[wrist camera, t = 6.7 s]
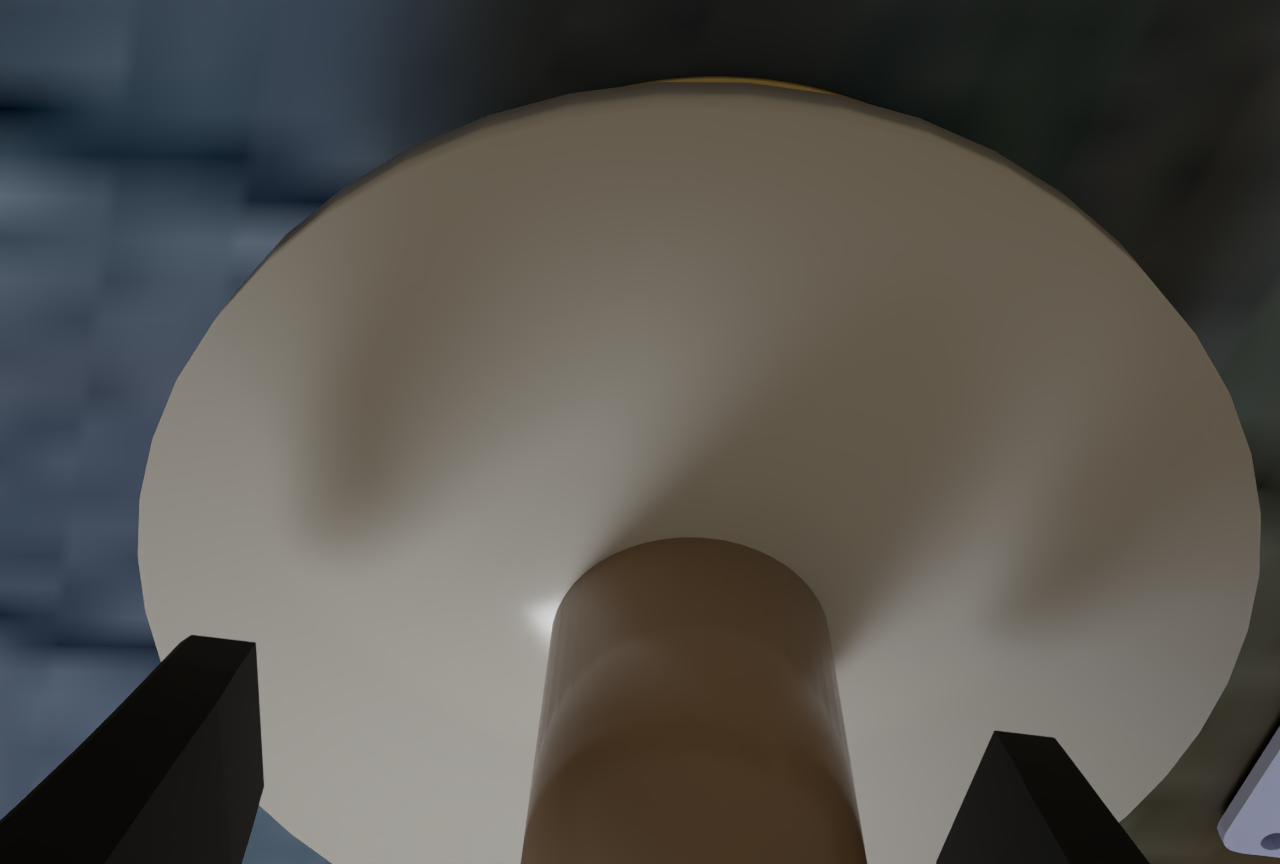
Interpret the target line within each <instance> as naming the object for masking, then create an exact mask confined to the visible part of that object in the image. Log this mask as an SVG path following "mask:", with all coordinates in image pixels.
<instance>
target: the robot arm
mask: <svg viewBox="0 0 1280 864" xmlns="http://www.w3.org/2000/svg"><path fill="white" fill-rule="evenodd" d="M263 789H264V775H263V758H262V740H261V723H260V705H259V688H258V670H257V653H256V642H248V641H240V640H231V639H223V638H215V637H206V636H198V635H190V636H189V637H187V638H186V639H184V640H183V641H181V642H180V643H179V644H178V645H177V646H176V647H175V648H174V649H173V650H172V651H171V652H170V653H169V655H168V656H167V657H166V658H165V659H164V660H163V661H162V662H161V663H160V664H159V665H158V666H157V667H156V668H155V669H154V670H153V671H152V672H151V674H150V675H149V676H148V677H147V678H146V679H145V680H144V681H143V682H142V683H141V684H140V685H139V686H138V687H137V688H136V689H135V690H134V691H133V692H132V693H131V694H130V695H129V696H128V698H127V699H126V700H125V701H124V702H123V703H122V704H121V705H120V706H119V707H118V708H117V709H116V710H115V711H114V712H113V713H112V714H111V715H110V716H109V717H108V718H107V719H106V720H105V721H104V722H103V723H102V724H101V725H100V726H99V727H98V728H97V729H96V730H95V731H94V732H93V733H92V734H91V735H90V736H89V737H88V738H87V739H86V740H85V741H84V742H83V743H82V744H81V745H80V746H79V747H78V748H77V749H76V750H75V751H74V752H73V753H71V754H70V755H69V756H68V757H67V758H66V759H65V760H64V761H63V762H62V763H61V764H60V765H59V766H58V767H57V768H56V769H55V770H54V771H53V772H51V773H50V774H49V775H48V776H47V777H46V778H45V779H44V780H43V781H42V782H41V783H40V784H39V785H38V786H37V787H36V788H35V789H34V790H33V791H31V792H30V793H29V794H28V795H27V796H26V797H25V798H24V799H23V800H22V801H21V802H20V803H19V804H18V805H17V806H16V807H15V808H13V809H12V810H11V811H10V812H9V813H8V814H7V815H6V816H5V817H4V818H3V819H1V820H0V864H242V860H243V857H244V854H245V851H246V847H247V844H248V841H249V837H250V834H251V830H252V827H253V823H254V820H255V816H256V813H257V810H258V806H259V803H260V799H261V796H262V792H263ZM1217 829H1218V832H1219V835H1220V837H1221V839H1222V841H1223V843H1224V845H1225V846H1226V847H1227V848H1228V849H1229V850H1231V851H1235V852H1239V853H1244V854H1253V855H1262V856H1271V857H1279V858H1280V727H1279V728H1278V730H1277V731H1276V733H1275V734H1274V736H1273V738H1272V739H1271V741H1270V742H1269V744H1268V745H1267V747H1266V749H1265V750H1264V752H1263V753H1262V755H1261V756H1260V758H1259V760H1258V761H1257V763H1256V764H1255V766H1254V767H1253V769H1252V771H1251V772H1250V774H1249V775H1248V777H1247V778H1246V780H1245V782H1244V783H1243V785H1242V786H1241V788H1240V790H1239V791H1238V793H1237V794H1236V796H1235V797H1234V799H1233V801H1232V802H1231V804H1230V805H1229V807H1228V808H1227V810H1226V812H1225V813H1224V815H1223V816H1222V818H1221V819H1220V821H1219V824H1218V827H1217ZM936 864H1150V863H1149V862H1148V861H1147V859H1146V858H1145V857H1144V855H1143V854H1142V853H1141V851H1140V850H1139V849H1138V847H1137V846H1136V845H1135V844H1134V842H1133V841H1132V840H1131V838H1130V837H1129V836H1128V834H1127V833H1126V832H1125V830H1124V829H1123V828H1122V826H1121V825H1120V824H1119V822H1118V821H1117V820H1116V818H1115V817H1114V816H1113V814H1112V813H1111V812H1110V810H1109V809H1108V808H1107V806H1106V805H1105V804H1104V802H1103V801H1102V800H1101V798H1100V797H1099V796H1098V794H1097V793H1096V792H1095V790H1094V789H1093V788H1092V786H1091V785H1090V783H1089V782H1088V781H1087V779H1086V778H1085V777H1084V775H1083V774H1082V773H1081V771H1080V770H1079V769H1078V767H1077V766H1076V765H1075V763H1074V762H1073V761H1072V760H1071V758H1070V757H1069V756H1068V754H1067V753H1066V752H1065V750H1064V749H1063V748H1062V746H1061V745H1060V744H1059V743H1058V741H1057V740H1056V739H1055V738H1054V737H1046V736H1037V735H1029V734H1020V733H1012V732H1004V731H995V730H994V732H993V734H992V737H991V739H990V741H989V743H988V746H987V748H986V750H985V752H984V755H983V757H982V759H981V762H980V764H979V766H978V768H977V771H976V773H975V775H974V777H973V780H972V782H971V784H970V786H969V789H968V791H967V793H966V795H965V798H964V800H963V802H962V804H961V807H960V809H959V811H958V813H957V816H956V818H955V820H954V822H953V825H952V827H951V829H950V832H949V834H948V836H947V838H946V841H945V843H944V845H943V847H942V850H941V852H940V854H939V856H938V859H937V861H936Z"/></svg>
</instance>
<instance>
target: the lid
mask: <svg viewBox="0 0 1280 864" xmlns="http://www.w3.org/2000/svg"><path fill="white" fill-rule="evenodd" d="M1260 528H1261V513H1260V507H1259V500H1258V494H1257V488H1256V481H1255V475H1254V468H1253V462H1252V456H1251V452H1250V449H1249V447H1248V444H1247V441H1246V438H1245V435H1244V432H1243V430H1242V427H1241V424H1240V421H1239V418H1238V415H1237V413H1236V410H1235V407H1234V404H1233V401H1232V398H1231V396H1230V393H1229V391H1228V390H1227V388H1226V386H1225V384H1224V383H1223V381H1222V379H1221V377H1220V376H1219V374H1218V372H1217V371H1216V369H1215V367H1214V365H1213V364H1212V362H1211V360H1210V358H1209V357H1208V355H1207V353H1206V351H1205V350H1204V348H1203V346H1202V344H1201V343H1200V341H1199V339H1198V337H1197V336H1196V334H1195V333H1194V332H1193V330H1192V329H1191V328H1190V327H1189V325H1188V324H1187V323H1186V322H1185V321H1184V319H1183V318H1182V317H1181V316H1180V314H1179V313H1178V312H1177V311H1176V310H1175V308H1174V307H1173V306H1172V305H1171V303H1170V302H1169V301H1168V300H1167V299H1166V297H1165V296H1164V295H1163V294H1162V293H1161V291H1160V290H1159V289H1158V288H1157V287H1156V285H1155V284H1154V283H1153V282H1152V281H1151V279H1150V278H1149V277H1148V276H1147V275H1146V273H1145V272H1144V271H1143V270H1142V269H1141V267H1140V266H1139V265H1138V264H1137V263H1136V261H1135V260H1134V259H1133V258H1132V257H1131V255H1130V254H1129V253H1128V252H1127V251H1126V249H1125V248H1124V247H1123V246H1122V245H1121V243H1120V242H1119V241H1117V240H1116V239H1115V238H1114V237H1113V236H1112V235H1110V234H1109V233H1108V232H1107V231H1106V230H1105V229H1104V228H1102V227H1101V226H1100V225H1099V224H1098V223H1097V222H1095V221H1094V220H1093V219H1092V218H1091V217H1090V216H1088V215H1087V214H1086V213H1085V212H1084V211H1083V210H1082V209H1080V208H1079V207H1078V206H1077V205H1076V204H1075V203H1073V202H1072V201H1071V200H1070V199H1069V198H1068V197H1067V196H1065V195H1064V194H1063V193H1061V192H1060V191H1058V190H1057V189H1055V188H1053V187H1052V186H1050V185H1049V184H1047V183H1045V182H1044V181H1042V180H1041V179H1039V178H1037V177H1036V176H1034V175H1033V174H1031V173H1029V172H1028V171H1026V170H1025V169H1023V168H1021V167H1020V166H1018V165H1017V164H1015V163H1013V162H1012V161H1010V160H1009V159H1007V158H1005V157H1004V156H1002V155H1001V154H999V153H997V152H996V151H993V150H991V149H989V148H987V147H984V146H982V145H980V144H977V143H975V142H973V141H971V140H968V139H966V138H964V137H961V136H959V135H957V134H955V133H952V132H950V131H948V130H946V129H943V128H941V127H939V126H936V125H934V124H932V123H930V122H927V121H925V120H923V119H920V118H917V117H914V116H910V115H906V114H903V113H899V112H896V111H892V110H889V109H885V108H882V107H878V106H874V105H871V104H867V103H864V102H860V101H857V100H853V99H850V98H846V97H842V96H839V95H834V94H827V93H820V92H812V91H805V90H798V89H791V88H784V87H777V86H770V85H762V84H755V83H733V82H656V83H648V84H640V85H632V86H624V87H616V88H608V89H600V90H592V91H584V92H576V93H570V94H566V95H563V96H559V97H555V98H551V99H547V100H544V101H540V102H536V103H532V104H528V105H525V106H521V107H517V108H513V109H510V110H506V111H502V112H498V113H494V114H491V115H487V116H485V117H483V118H480V119H478V120H475V121H473V122H471V123H468V124H466V125H463V126H461V127H459V128H456V129H454V130H451V131H449V132H447V133H444V134H442V135H439V136H437V137H435V138H432V139H430V140H427V141H425V142H423V143H420V144H418V145H415V146H413V147H411V148H409V149H408V150H406V151H404V152H403V153H401V154H399V155H397V156H396V157H394V158H392V159H391V160H389V161H387V162H386V163H384V164H382V165H381V166H379V167H377V168H376V169H374V170H372V171H371V172H369V173H367V174H366V175H364V176H362V177H361V178H359V179H357V180H356V181H354V182H352V183H351V184H349V185H347V186H345V187H344V188H343V189H341V190H340V191H339V192H338V193H336V194H335V195H334V196H333V197H332V198H330V199H329V200H328V201H327V202H325V203H324V204H323V205H322V206H321V207H319V208H318V209H317V210H316V211H314V212H313V213H312V214H311V215H310V216H308V217H307V218H306V219H305V220H303V221H302V222H301V223H300V224H299V225H297V226H296V227H295V228H294V229H292V230H291V231H290V232H289V233H288V234H286V235H285V236H284V238H283V239H282V240H281V241H280V242H279V243H278V244H277V245H276V247H275V248H274V249H273V250H272V251H271V252H270V253H269V254H268V256H267V257H266V258H265V259H264V260H263V261H262V262H261V263H260V265H259V266H258V267H257V268H256V269H255V270H254V271H253V272H252V274H251V275H250V276H249V277H248V278H247V279H246V280H245V281H244V282H243V284H242V285H241V286H240V287H239V288H238V290H237V291H236V292H235V294H234V295H233V296H232V298H231V299H230V300H229V302H228V303H227V304H226V306H225V307H224V308H223V310H222V311H221V313H220V314H219V315H218V317H217V318H216V319H215V321H214V322H213V323H212V325H211V326H210V328H209V330H208V331H207V333H206V334H205V336H204V338H203V339H202V341H201V342H200V344H199V346H198V347H197V349H196V350H195V352H194V353H193V355H192V357H191V358H190V360H189V361H188V363H187V365H186V366H185V368H184V369H183V371H182V372H181V374H180V376H179V377H178V379H177V380H176V383H175V385H174V388H173V390H172V393H171V395H170V398H169V400H168V402H167V405H166V407H165V410H164V412H163V415H162V417H161V419H160V422H159V424H158V427H157V429H156V432H155V434H154V437H153V439H152V443H151V448H150V453H149V457H148V462H147V467H146V471H145V476H144V481H143V485H142V490H141V495H140V505H139V533H138V562H139V569H140V576H141V583H142V591H143V598H144V605H145V612H146V615H147V618H148V621H149V625H150V628H151V631H152V634H153V638H154V641H155V644H156V647H157V650H158V654H159V657H160V660H161V662H162V661H163V660H164V659H165V658H166V657H167V656H168V655H169V653H170V652H171V651H172V650H173V649H174V648H175V647H176V646H177V645H178V644H179V643H180V642H181V641H183V640H184V639H186V638H187V637H189V636H190V635H198V636H206V637H215V638H223V639H231V640H240V641H248V642H256V653H257V670H258V688H259V705H260V723H261V740H262V758H263V775H264V789H263V792H262V796H261V799H260V803H259V805H260V806H261V807H262V808H263V809H264V810H265V811H266V812H267V813H269V814H270V815H271V816H272V817H273V818H274V819H275V820H276V821H277V822H279V823H280V824H281V825H282V826H283V827H284V828H285V829H286V830H287V831H289V832H290V833H291V834H292V835H293V836H295V837H296V838H297V839H299V840H300V841H302V842H303V843H304V844H306V845H307V846H309V847H310V848H311V849H313V850H314V851H315V852H317V853H318V854H320V855H321V856H322V857H324V858H325V859H327V860H328V861H329V862H331V863H332V864H936V861H937V859H938V856H939V854H940V852H941V850H942V847H943V845H944V843H945V841H946V838H947V836H948V834H949V832H950V829H951V827H952V825H953V822H954V820H955V818H956V816H957V813H958V811H959V809H960V807H961V804H962V802H963V800H964V798H965V795H966V793H967V791H968V789H969V786H970V784H971V782H972V780H973V777H974V775H975V773H976V771H977V768H978V766H979V764H980V762H981V759H982V757H983V755H984V752H985V750H986V748H987V746H988V743H989V741H990V739H991V737H992V734H993V732H994V730H995V731H1004V732H1012V733H1020V734H1029V735H1037V736H1046V737H1054V738H1055V739H1056V740H1057V741H1058V743H1059V744H1060V745H1061V746H1062V748H1063V749H1064V750H1065V752H1066V753H1067V754H1068V756H1069V757H1070V758H1071V760H1072V761H1073V762H1074V763H1075V765H1076V766H1077V767H1078V769H1079V770H1080V771H1081V773H1082V774H1083V775H1084V777H1085V778H1086V779H1087V781H1088V782H1089V783H1090V785H1091V786H1092V788H1093V789H1094V790H1095V792H1096V793H1097V794H1098V796H1099V797H1100V798H1101V800H1102V801H1103V802H1104V804H1105V805H1106V806H1107V808H1108V809H1109V810H1110V812H1111V813H1112V814H1113V816H1114V817H1115V818H1116V820H1117V821H1118V822H1120V821H1121V820H1122V819H1123V818H1125V817H1126V816H1127V815H1128V814H1129V813H1130V812H1131V811H1132V810H1133V809H1134V808H1135V807H1136V806H1137V805H1138V804H1139V803H1140V802H1141V801H1142V800H1143V799H1144V798H1145V797H1146V796H1147V795H1148V794H1149V793H1150V792H1151V791H1152V790H1153V789H1154V788H1155V787H1156V786H1157V785H1158V784H1159V783H1160V782H1161V781H1162V780H1163V779H1164V778H1165V777H1166V775H1167V774H1168V773H1169V772H1170V770H1171V769H1172V768H1173V766H1174V765H1175V764H1176V762H1177V761H1178V760H1179V759H1180V757H1181V756H1182V755H1183V753H1184V752H1185V751H1186V749H1187V748H1188V747H1189V746H1190V744H1191V743H1192V742H1193V740H1194V739H1195V738H1196V736H1197V735H1198V734H1199V733H1200V731H1201V729H1202V727H1203V726H1204V724H1205V722H1206V720H1207V719H1208V717H1209V715H1210V713H1211V712H1212V710H1213V708H1214V706H1215V705H1216V703H1217V701H1218V699H1219V698H1220V696H1221V694H1222V692H1223V690H1224V689H1225V687H1226V685H1227V683H1228V681H1229V678H1230V676H1231V673H1232V671H1233V668H1234V665H1235V663H1236V660H1237V657H1238V655H1239V652H1240V650H1241V647H1242V644H1243V642H1244V639H1245V636H1246V634H1247V631H1248V627H1249V622H1250V617H1251V612H1252V607H1253V603H1254V598H1255V593H1256V588H1257V583H1258V578H1259V566H1260Z"/></svg>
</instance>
